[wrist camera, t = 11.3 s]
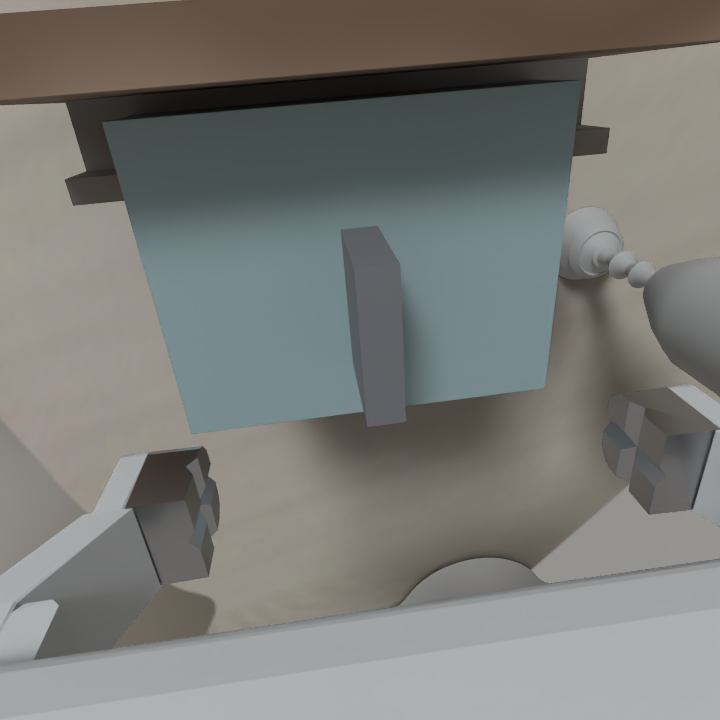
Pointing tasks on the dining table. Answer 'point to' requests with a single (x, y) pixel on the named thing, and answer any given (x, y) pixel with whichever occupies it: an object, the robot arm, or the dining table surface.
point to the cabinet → (352, 247)
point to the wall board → (312, 55)
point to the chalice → (654, 291)
